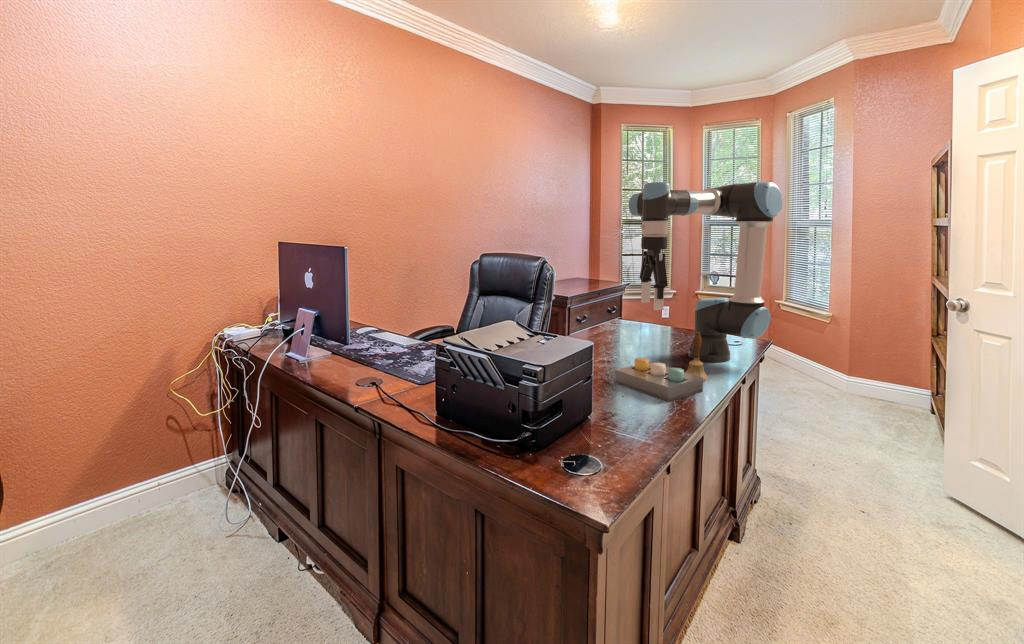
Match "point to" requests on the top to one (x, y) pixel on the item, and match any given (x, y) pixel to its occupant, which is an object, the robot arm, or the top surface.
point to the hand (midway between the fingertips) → (651, 306)
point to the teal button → (675, 375)
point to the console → (658, 383)
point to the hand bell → (697, 359)
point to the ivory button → (658, 369)
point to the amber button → (641, 364)
